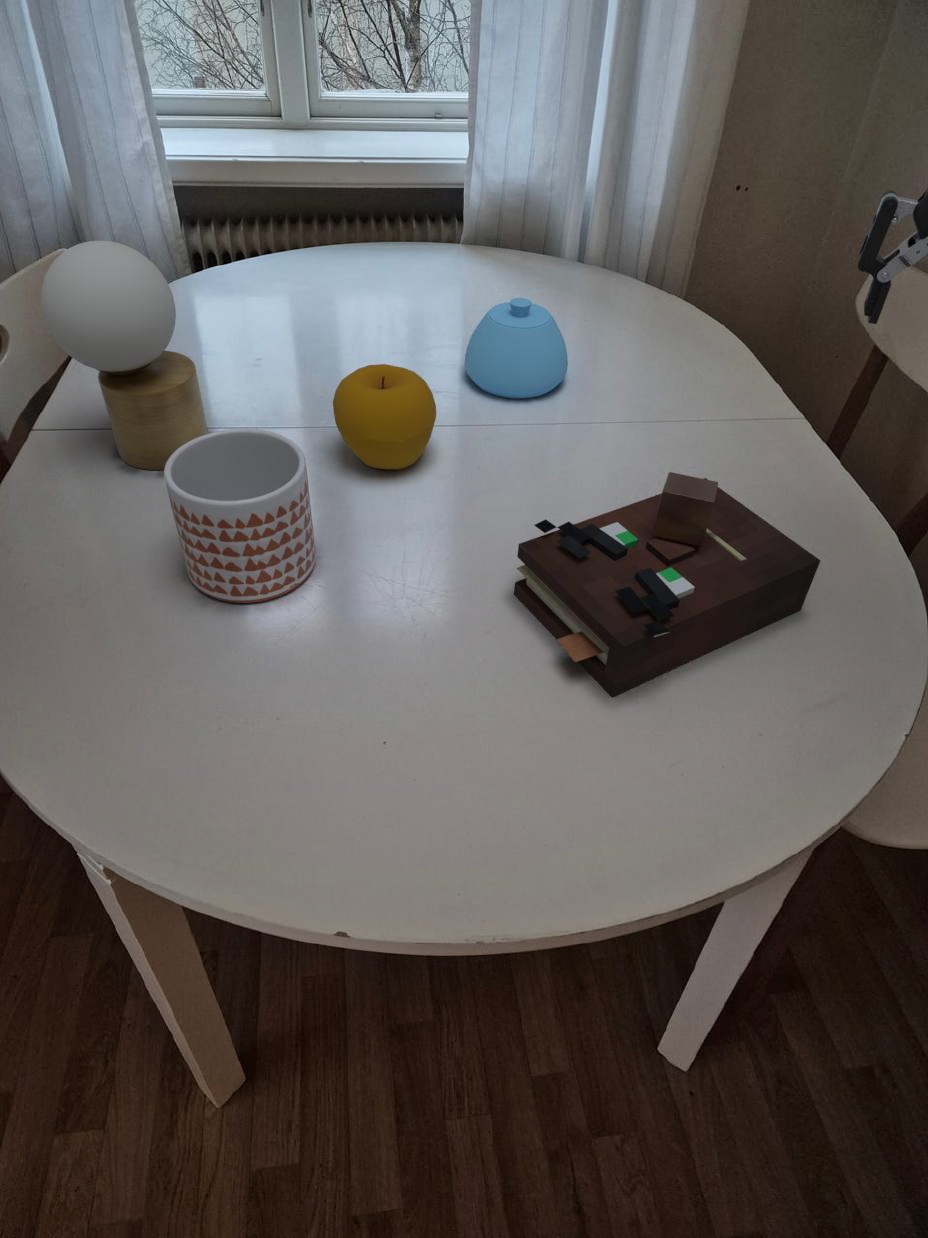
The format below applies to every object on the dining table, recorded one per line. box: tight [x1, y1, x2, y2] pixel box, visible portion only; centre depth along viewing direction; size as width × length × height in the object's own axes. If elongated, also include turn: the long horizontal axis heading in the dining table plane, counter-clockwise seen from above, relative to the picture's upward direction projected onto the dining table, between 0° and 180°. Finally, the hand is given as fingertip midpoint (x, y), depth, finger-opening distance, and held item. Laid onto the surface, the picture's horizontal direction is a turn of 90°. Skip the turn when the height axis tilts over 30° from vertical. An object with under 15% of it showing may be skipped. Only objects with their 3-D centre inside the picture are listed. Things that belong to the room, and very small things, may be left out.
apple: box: [332, 363, 437, 470], centre depth 106 cm, size 13×13×11 cm
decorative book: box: [513, 477, 821, 698], centre depth 88 cm, size 19×8×30 cm
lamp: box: [40, 240, 209, 471], centre depth 102 cm, size 15×14×25 cm
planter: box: [163, 428, 317, 604], centre depth 89 cm, size 14×14×13 cm
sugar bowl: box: [464, 297, 569, 400], centre depth 123 cm, size 15×15×12 cm
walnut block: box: [652, 471, 719, 547], centre depth 87 cm, size 5×5×5 cm
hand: (922, 328), depth 77 cm, fingers open, 8 cm apart
